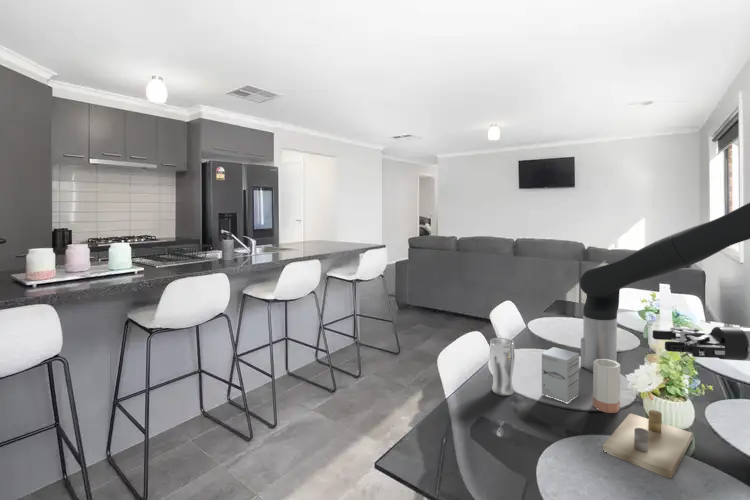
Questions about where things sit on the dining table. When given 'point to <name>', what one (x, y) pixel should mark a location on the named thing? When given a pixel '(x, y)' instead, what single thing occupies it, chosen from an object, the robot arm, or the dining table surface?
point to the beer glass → (502, 365)
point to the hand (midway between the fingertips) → (658, 340)
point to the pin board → (649, 443)
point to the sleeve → (606, 385)
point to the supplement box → (560, 374)
